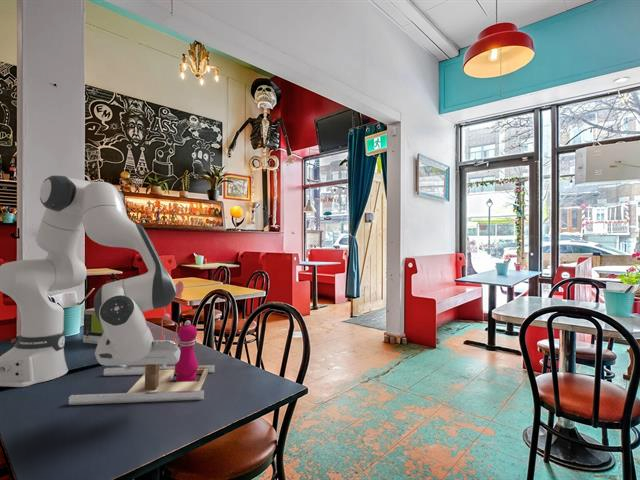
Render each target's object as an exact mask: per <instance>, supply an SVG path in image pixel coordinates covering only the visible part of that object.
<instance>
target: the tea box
mask: <svg viewBox="0 0 640 480" xmlns="http://www.w3.org/2000/svg"><path fill="white" fill-rule="evenodd" d="M82 333H83V336H82V337H83V338H82V343H86V344H94V345H95V344H96V345H98V342H99V340H100V338H101V336H102V334H103V333H104V331H103V328H102V325H101V323H100V322H99V320H98V319H97V316H96V314H95V310H94V307H92V308H87V309H84V310H83V332H82Z"/></svg>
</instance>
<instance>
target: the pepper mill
mask: <svg viewBox="0 0 640 480" xmlns="http://www.w3.org/2000/svg"><path fill="white" fill-rule="evenodd" d="M184 324H185V325H182V326H180V328H179V329H178V330H177V338H179V340H178V346H179V347H180V348H179V349H180V352H181V353H180V358H179V361H178V362H177V363H176V364H174V366H175V372H176V373H177V374H178V375H176V376H175V382H192V381H197V374H196V373H195V372H196V371H197V369H198V366H199V362H198V360H197V357H196V354H195V351H194V350H195V349H194V348H195V347H194V346H195V344H196V337H197V335H198V331H197V330H198V329H197V327H196V326H195V325H192V323H191V320H186V321H185V322H184Z"/></svg>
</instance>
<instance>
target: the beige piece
mask: <svg viewBox="0 0 640 480" xmlns="http://www.w3.org/2000/svg"><path fill="white" fill-rule="evenodd" d="M144 367H145V374H144V375H141V377H140V378H139V379H138V380H137V381H136V383H134V384H133V386H132V387H130V388H129V390H128V391H127V392H126V393H141V392H168V391H195V390H202V387H203V384H204V383H205V380H206V378H207V376H208V374H209V373H208V368H205V369H197V371H196V372H195V373H196V375H201V376H200V378H199V380H198V381H197V380H195V381H192V382H176V381H171V380H172V379H173V378H174V376H175V375H176V376H177V375H178V374H177V373H176V372H175V369H169V370H159V364H147V365H145V366H144Z"/></svg>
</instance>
